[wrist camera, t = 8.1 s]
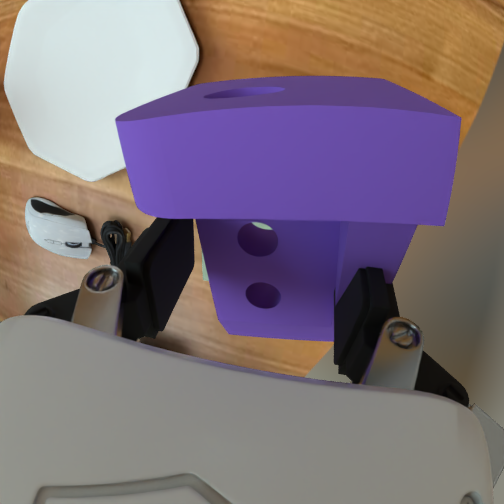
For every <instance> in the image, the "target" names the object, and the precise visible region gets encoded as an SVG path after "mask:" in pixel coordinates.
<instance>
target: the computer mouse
mask: <svg viewBox="0 0 504 504" xmlns="http://www.w3.org/2000/svg"><path fill="white" fill-rule="evenodd" d="M25 219H26V225H27V229H28V232H29V234H30V236H31V237H32V239H33V240H34V241H35V242H36V243H37V244H38V245H40V246H41V247H43V248H45V249H47V250H49V251H51V252H53V253H56V254H59V255H62V256H66V257H72V258H81V259H88V257H89V256H90V253H91V250H92V248H91V245H90V243H92V244H96V245H98V246H101V247H104V248H106V250H107V252H108V255H109V257H110V261H111V262H110V264H111V265H113V266H116V267H117V265H118V264H119V263H120V261H121V260H122V259H123V257H124V256H125V255H126V253H127V252H128V251H129V249H130V248H131V244H132V242H131V241H130V235H131V232H130V231H129V230H128V229H127V228H124V229H123V228H122V225H121V224H120V222H119V221H117V220H115V221H114V222H112V221H106V222H105V223H104V224H103V226H102V229H101V238H102V241H103V243H104V245H102V244H100V243H98V242H96V240H95V239H94V238H92V237H91V236H90V232H89V231H88V229H87V225H86V222H85V219H84V217H81V216H79V215H76V214H73V213H70V212H68V211H66V210H64V209H62V208H60V207H59V206H57V205H56V204H54V203H53V202H51V201H49V200H47V199H44V198H39V197H33V198H30V199H29V200H28V201H27V204H26V209H25ZM110 234H112V237H111V238H110ZM114 234H117V244H115V235H114Z"/></svg>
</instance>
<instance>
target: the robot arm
mask: <svg viewBox="0 0 504 504" xmlns="http://www.w3.org/2000/svg"><path fill="white" fill-rule="evenodd" d="M193 267H194V229H193V219H169V218H160V217H157V218H156V219H155V221H154V222H153V223H152V224H151V226H150V227H149V228H146V229H145V230H144V231H143V233H142V234H141V235H140V236H139V238H138V239H137V240H136V242H135V243H134V244H133V245H132V247H131V248H130V249H129V251H128V252H127V253H126V255H125V256H124V257H123V259H122V260H121V261H120V263H119V264H118V265H117V267H116V266H113V265H102V266H98V267H95V268H93V269H92V270H90V271H89V272H88V273H87V274H86V275H85V276H84V278H83V280H82V284H81V287H80V289H78V290H75V291H72V292H69V293H66V294H63V295H61V296H58V297H55V298H52V299H49V300H46V301H44V302H41V303H38V304H36V305H34V306H32V307H31V308H30V309H29V310H28V311H27V312H26V313H25V315H23V316H15V317H11V318H8V319H6V320H4V321H2V322H0V504H493V488H494V486H495V484H496V482H497V480H498V478H499V476H500V475H501V472H502V471H503V469H504V429H503V428H502V427H501V426H500V425H499V424H498V423H496V422H495V421H494V420H493V419H492V418H491V417H490V416H488V415H487V414H486V413H485V412H484V411H483V410H482V409H480V408H479V407H478V406H477V405H476V404H473V405H472V406H471V405H470V404H469V398H468V394H467V392H466V390H465V388H464V387H463V386H462V385H461V384H460V383H459V382H458V381H457V380H456V379H455V378H454V377H452V376H451V375H450V374H449V373H448V372H447V371H445V369H444V368H442V367H441V366H440V365H439V364H438V363H437V362H436V361H434V360H433V359H432V358H431V357H430V356H429V355H428V354H426V353H425V352H424V351H423V345H424V336H423V333H422V331H421V330H420V328H419V327H418V326H417V325H416V324H415V323H414V322H412V321H410V320H409V319H406V318H403V317H400V316H399V311H398V306H397V301H396V297H395V292H394V288H393V283H392V284H388V283H386V282H385V277H384V273H383V269H382V268H375V267H368V266H367V267H366V269H364V268H359V269H358V271H357V272H356V274H355V275H354V277H353V279H352V280H351V282H350V284H349V285H348V287H347V288H346V290H345V292H344V293H343V295H342V296H341V298H340V299H339V301H338V303H337V304H336V306H335V290H334V364H335V365H339V369H338V370H339V372H338V373H339V374H343V375H346V376H347V377H348V378H349V379H350V380H351V382H350V383H342V382H334V381H326V380H318V379H311V378H304V377H297V376H291V375H285V374H279V373H273V372H267V371H261V370H256V369H250V368H245V367H240V366H235V365H230V364H225V363H221V362H216V361H211V360H207V359H202V358H198V357H194V356H190V355H185V354H181V353H177V352H173V351H169V350H165V349H161V348H158V347H154V346H150V345H147V344H143V343H140V338H142V337H145V336H146V337H150V338H153V339H155V338H156V335H157V333H158V331H161V332H162V331H163V330H164V328H165V326H166V324H167V322H168V320H169V317H170V315H171V313H172V311H173V309H174V307H175V305H176V303H177V301H178V299H179V296H180V294H181V292H182V290H183V288H184V286H185V284H186V282H187V280H188V278H189V276H190V274H191V272H192V270H193Z"/></svg>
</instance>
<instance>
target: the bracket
mask: <svg viewBox="0 0 504 504" xmlns="http://www.w3.org/2000/svg"><path fill="white" fill-rule="evenodd" d="M115 122H116V127H117V131H118V136H119V140H120V144H121V149H122V153H123V157H124V161H125V165H126V169H127V173H128V177H129V181H130V184H131V188H132V192H133V195H134V199H135V203H136V205H137V207H138V208H139V210H141V211H142V212H144V213H145V214H148V215H151V216H155V217H160V218H169V219H196V224H197V229H198V233H199V238H200V243H201V247H202V252H203V256H204V261H205V265H206V270H207V274H208V279H209V283H210V287H211V291H212V296H213V300H214V304H215V308H216V312H217V316H218V320H219V321H220V323H221V324H222V325H223V327H224V328H225V329H226V331H227V332H228V333H229V334H232V335H243V336H254V337H266V338H279V339H294V340H312V341H334V290H335V306H336V304H337V303H338V301H339V299H340V298H341V296H342V295H343V293H344V292H345V290H346V288H347V287H348V285H349V284H350V282H351V280H352V279H353V277H354V275H355V274H356V272H357V271H358V269H359V268H364V269H366V267H367V266H368V267H375V268H382V269H383V273H384V277H385V282H386V283H388V284H392V282H393V280H394V278H395V276H396V273H397V271H398V269H399V267H400V265H401V262H402V260H403V258H404V256H405V253H406V251H407V249H408V247H409V244H410V242H411V239H412V237H413V235H414V232H415V230H416V227H417V225H436V226H444V224H445V220H446V215H447V211H448V205H449V201H450V196H451V190H452V185H453V179H454V173H455V167H456V160H457V152H458V144H459V136H460V126H461V117H459V116H457V115H455V114H454V113H452V112H450V111H448V110H446V109H445V108H443V107H441V106H439V105H437V104H435V103H433V102H432V101H430V100H428V99H426V98H424V97H422V96H420V95H418V94H416V93H414V92H411V91H409V90H407V89H405V88H403V87H401V86H399V85H396V84H394V83H392V82H390V81H387V80H385V79H378V78H364V77H343V76H286V77H265V78H250V79H238V80H228V81H219V82H211V83H203V84H197V85H194V86H191V87H188V88H185V89H183V90H180V91H177V92H174V93H172V94H169V95H166V96H164V97H161V98H158V99H156V100H153V101H151V102H148V103H146V104H143V105H141V106H139V107H136V108H134V109H132V110H129V111H127V112H125V113H123V114H121V115H119V116H118V117H116V118H115ZM252 222H259V223H263V224H266V225H268V226H269V227H271V228H272V230H268V229H262V228H259V227H257V226H255V225H254V224H252Z"/></svg>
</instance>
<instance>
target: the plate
mask: <svg viewBox="0 0 504 504" xmlns="http://www.w3.org/2000/svg"><path fill="white" fill-rule="evenodd" d="M199 52H200V48H199V45H198V43H197V41H196V38H195V36H194V33H193V31H192V28H191V26H190V24H189V21H188V19H187V16H186V14H185V12H184V9H183V7H182V4H181V2H180V0H28V1H27V2H26V3H25V4H24V5H23V6H22V8H21V10H20V12H19V14H18V16H17V20H16V23H15V27H14V31H13V36H12V40H11V44H10V49H9V54H8V59H7V65H6V71H5V77H4V89H5V93H6V95H7V98H8V101H9V103H10V106H11V108H12V111H13V113H14V116H15V118H16V120H17V123H18V125H19V128H20V130H21V132H22V134H23V137H24V139H25V141H26V143H27V145H28V148H29V149H30V150H31V151H32V152H33V154H34V155H36V156H38V157H40V158H42V159H44V160H46V161H48V162H50V163H52V164H54V165H56V166H58V167H60V168H62V169H64V170H66V171H68V172H70V173H72V174H73V175H75V176H77V177H79V178H81V179H83V180H85V181H90V182H95V181H97V180H100V179H102V178H104V177H106V176H108V175H111V174H113V173H115V172H117V171H120V170H122V169H124V168H126V165H125V161H124V157H123V153H122V149H121V144H120V140H119V136H118V131H117V127H116V122H115V118H116V117H118V116H119V115H121V114H123V113H125V112H127V111H129V110H132V109H134V108H136V107H139V106H141V105H143V104H146V103H148V102H151V101H153V100H156V99H158V98H161V97H164V96H166V95H169V94H172V93H174V92H177V91H180V90H183V89H185V88H188V86H189V83H190V81H191V79H192V76H193V74H194V72H195V69H196V67H197V65H198V63H199Z"/></svg>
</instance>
